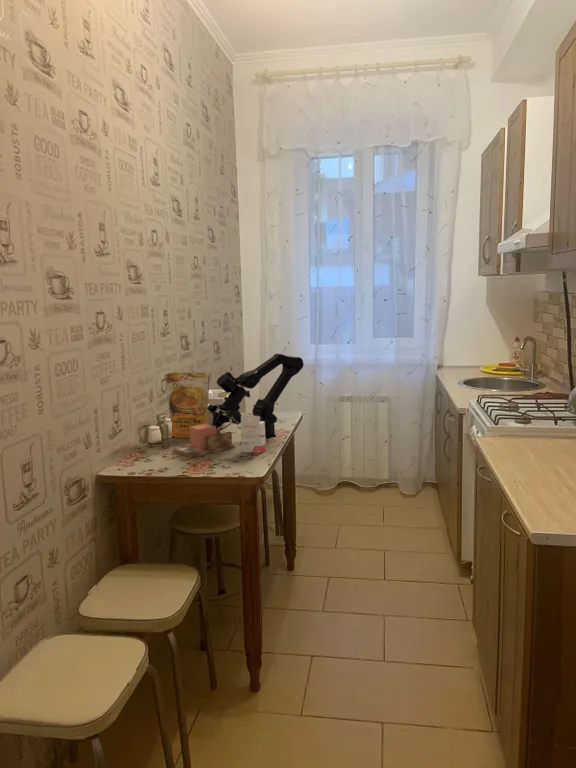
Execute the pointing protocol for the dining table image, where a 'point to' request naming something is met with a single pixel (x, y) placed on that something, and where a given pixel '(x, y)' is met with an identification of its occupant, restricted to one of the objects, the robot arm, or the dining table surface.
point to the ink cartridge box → (253, 434)
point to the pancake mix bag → (187, 401)
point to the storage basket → (216, 401)
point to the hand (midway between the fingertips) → (212, 430)
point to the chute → (208, 445)
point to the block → (201, 435)
